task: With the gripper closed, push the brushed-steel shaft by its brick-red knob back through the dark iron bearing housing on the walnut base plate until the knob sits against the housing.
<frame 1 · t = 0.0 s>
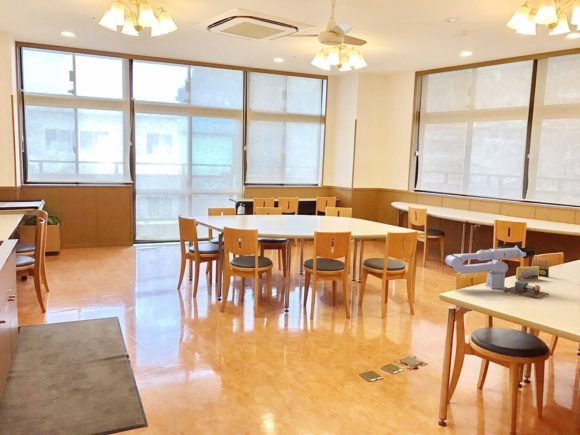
hand: (530, 251, 281), 22 cm above the table, tool horizontal, fingers open, 7 cm apart
shaft: (529, 287, 268), point 4 cm above the table, slide at 5.0 cm
base plate: (521, 292, 272), on the table
bearing housing: (521, 286, 271), on the base plate, point 3 cm above the table
ammunition clip: (539, 275, 314), on the table
candy box: (526, 279, 303), on the table
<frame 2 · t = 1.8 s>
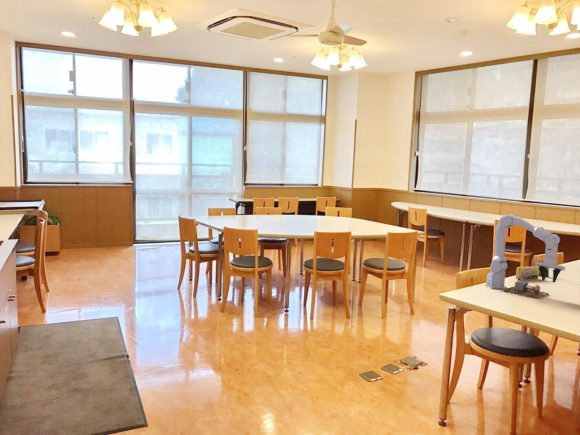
hand: (548, 281, 260), 9 cm above the table, tool pointing down, fingers open, 5 cm apart
nothing on the table moved.
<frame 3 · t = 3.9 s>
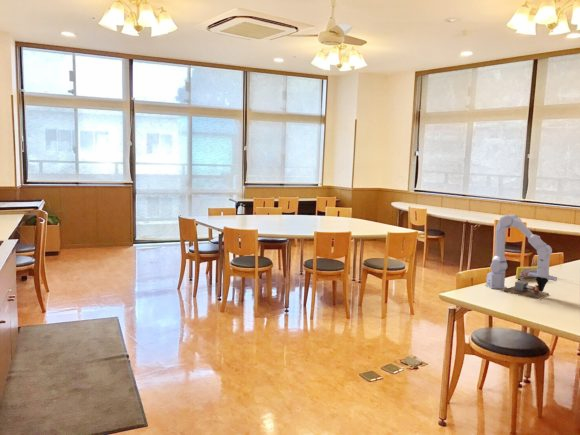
hand: (541, 291, 263), 3 cm above the table, tool pointing down, fingers closed
shaft: (529, 287, 268), point 4 cm above the table, slide at 5.0 cm, touching gripper
everything else where it was.
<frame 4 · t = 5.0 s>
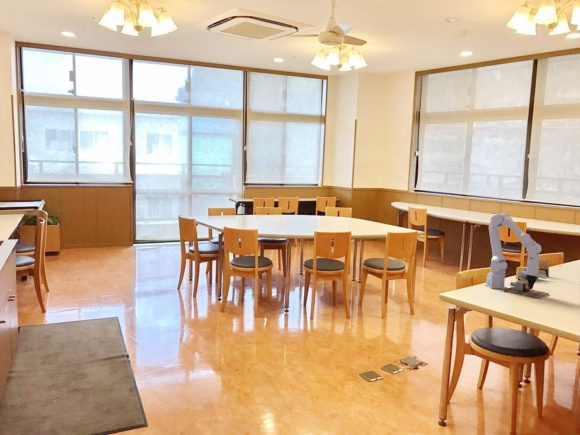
hand: (531, 288, 267), 3 cm above the table, tool pointing down, fingers closed
shaft: (519, 285, 272), point 4 cm above the table, slide at -0.1 cm, touching gripper
everything else where it was.
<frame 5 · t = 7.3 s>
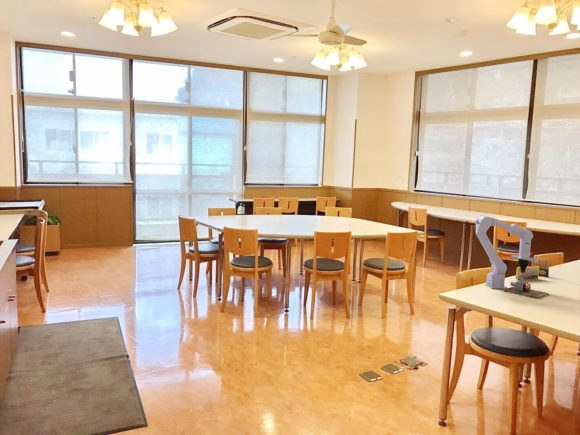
hand: (522, 272, 280), 9 cm above the table, tool pointing down, fingers closed
shaft: (520, 285, 272), point 4 cm above the table, slide at 0.0 cm
everything else where it was.
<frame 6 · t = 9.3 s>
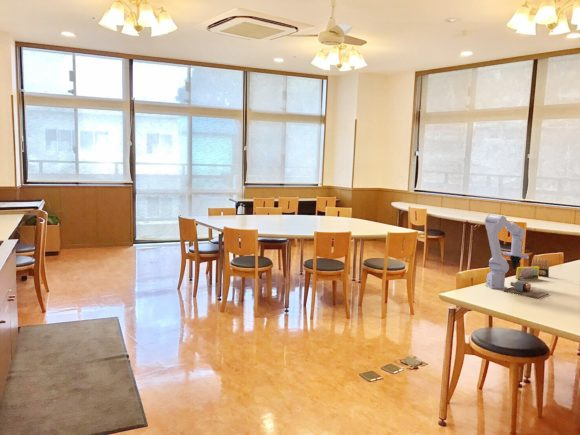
hand: (514, 268, 290), 9 cm above the table, tool pointing down, fingers closed
nothing on the table moved.
at the end: shaft slide at 0.0 cm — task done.
